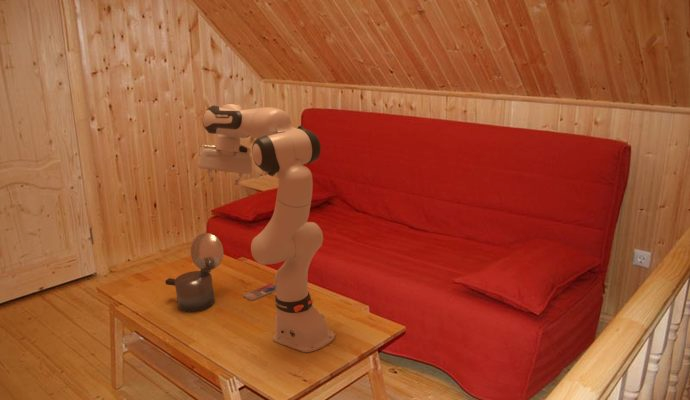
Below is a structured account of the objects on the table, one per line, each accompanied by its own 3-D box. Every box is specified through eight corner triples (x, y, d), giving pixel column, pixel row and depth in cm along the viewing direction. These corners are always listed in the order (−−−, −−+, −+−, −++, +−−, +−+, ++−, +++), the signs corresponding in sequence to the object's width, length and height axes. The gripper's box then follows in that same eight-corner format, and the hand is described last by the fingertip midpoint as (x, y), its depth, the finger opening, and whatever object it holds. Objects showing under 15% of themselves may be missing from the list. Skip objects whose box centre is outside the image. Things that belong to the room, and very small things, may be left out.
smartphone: (241, 295, 226) (271, 282, 236) (241, 297, 226) (271, 284, 236) (251, 300, 221) (282, 287, 230) (251, 302, 221) (282, 289, 230)
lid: (189, 269, 228) (193, 269, 230) (220, 274, 222) (224, 273, 225) (191, 231, 228) (196, 231, 230) (222, 235, 222) (226, 234, 224)
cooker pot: (181, 291, 233) (177, 267, 229) (221, 298, 225) (218, 273, 222) (158, 307, 220) (154, 281, 217) (200, 314, 213) (196, 288, 210)
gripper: (199, 143, 208) (195, 179, 208) (254, 149, 212) (250, 186, 211) (200, 144, 214) (196, 180, 214) (254, 151, 218) (250, 186, 218)
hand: (223, 183), depth 213 cm, fingers open, 8 cm apart
